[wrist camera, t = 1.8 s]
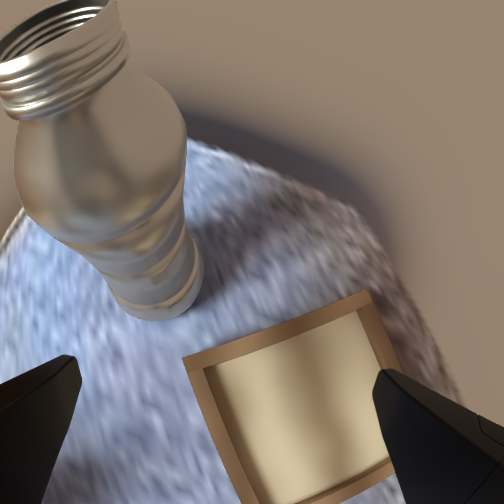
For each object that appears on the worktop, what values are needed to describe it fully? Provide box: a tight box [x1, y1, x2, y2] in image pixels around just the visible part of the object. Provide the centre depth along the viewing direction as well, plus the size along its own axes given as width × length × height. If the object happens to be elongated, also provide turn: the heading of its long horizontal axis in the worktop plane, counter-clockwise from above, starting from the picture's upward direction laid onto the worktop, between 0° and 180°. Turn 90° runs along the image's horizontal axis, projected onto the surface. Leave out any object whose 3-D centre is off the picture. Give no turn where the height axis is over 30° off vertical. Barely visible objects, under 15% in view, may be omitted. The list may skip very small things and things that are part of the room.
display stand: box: [182, 289, 403, 504], centre depth 19 cm, size 13×13×3 cm
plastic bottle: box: [0, 0, 204, 321], centre depth 14 cm, size 6×7×20 cm
